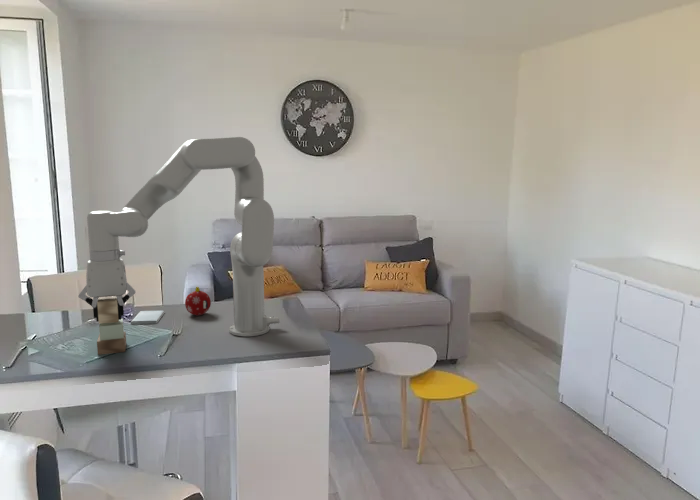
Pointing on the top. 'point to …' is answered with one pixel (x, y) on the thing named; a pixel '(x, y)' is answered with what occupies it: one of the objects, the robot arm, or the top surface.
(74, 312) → the top surface
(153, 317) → the hard drive
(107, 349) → the tower bottom
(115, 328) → the tower top
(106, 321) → the oak block
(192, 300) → the christmas ornament
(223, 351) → the top surface
